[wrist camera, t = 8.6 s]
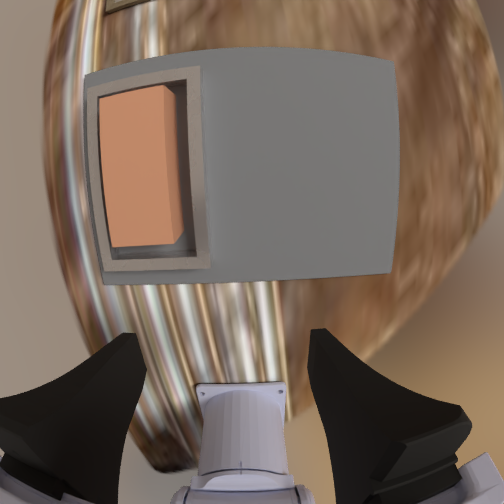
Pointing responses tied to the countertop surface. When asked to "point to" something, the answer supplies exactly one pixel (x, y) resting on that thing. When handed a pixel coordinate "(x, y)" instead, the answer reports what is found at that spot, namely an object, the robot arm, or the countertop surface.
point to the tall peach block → (141, 167)
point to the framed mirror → (120, 4)
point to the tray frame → (198, 174)
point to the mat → (282, 164)
